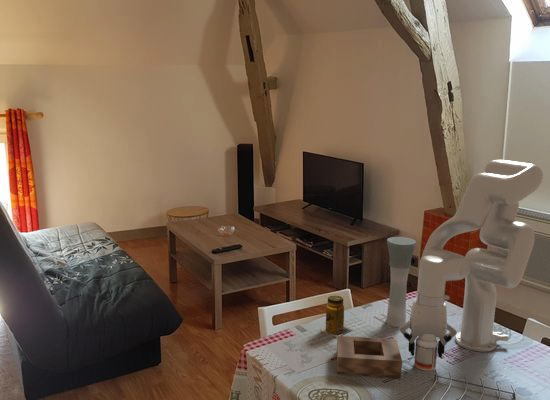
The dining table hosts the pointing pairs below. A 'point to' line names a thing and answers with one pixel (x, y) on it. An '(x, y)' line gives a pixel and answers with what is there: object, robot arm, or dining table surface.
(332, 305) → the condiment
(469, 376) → the dining table surface
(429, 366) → the pill bottle
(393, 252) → the container
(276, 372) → the dining table surface
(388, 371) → the well block
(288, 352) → the dining table surface
